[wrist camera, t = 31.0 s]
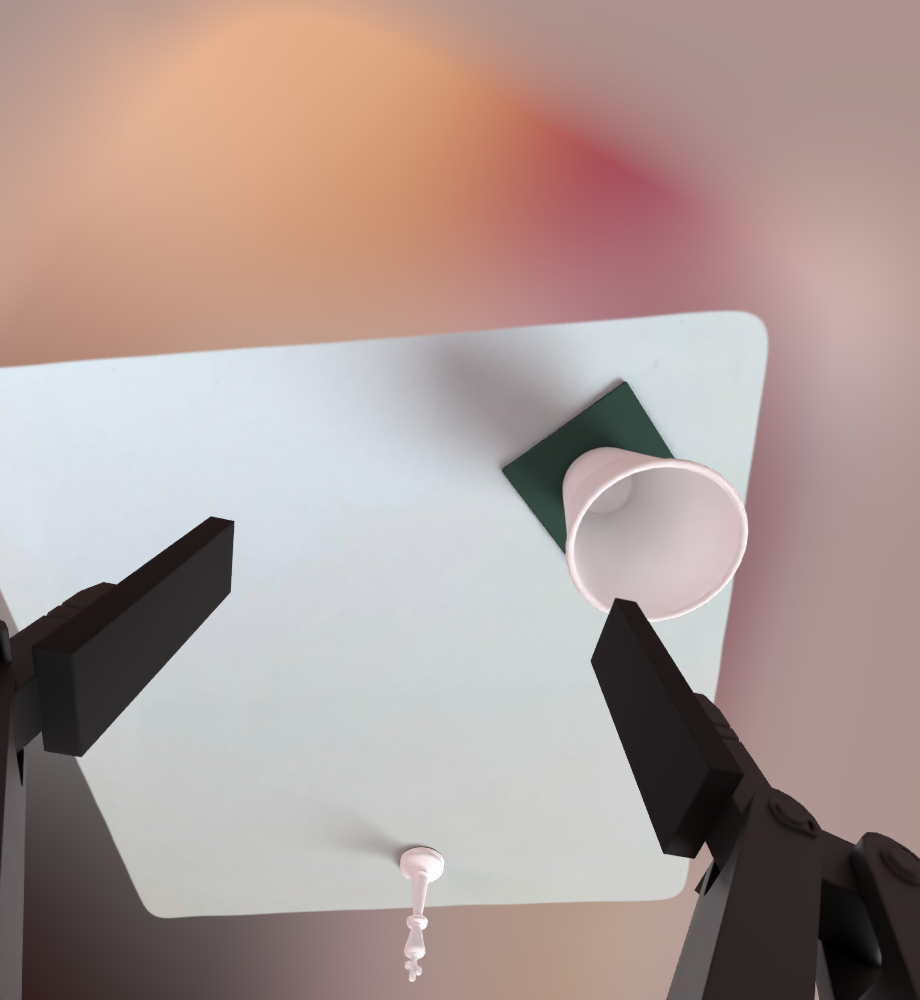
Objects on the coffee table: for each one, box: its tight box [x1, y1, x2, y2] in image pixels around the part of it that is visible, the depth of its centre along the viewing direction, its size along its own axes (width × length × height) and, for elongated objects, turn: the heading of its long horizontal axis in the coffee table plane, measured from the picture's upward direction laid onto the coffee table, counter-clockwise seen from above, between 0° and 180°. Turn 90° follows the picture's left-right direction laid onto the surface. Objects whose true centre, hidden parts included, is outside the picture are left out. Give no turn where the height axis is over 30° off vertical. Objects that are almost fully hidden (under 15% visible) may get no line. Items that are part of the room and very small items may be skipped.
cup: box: [563, 447, 748, 622], centre depth 30 cm, size 10×10×11 cm
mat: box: [502, 382, 675, 554], centre depth 36 cm, size 11×11×1 cm
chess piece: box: [400, 847, 444, 982], centre depth 47 cm, size 5×5×10 cm
